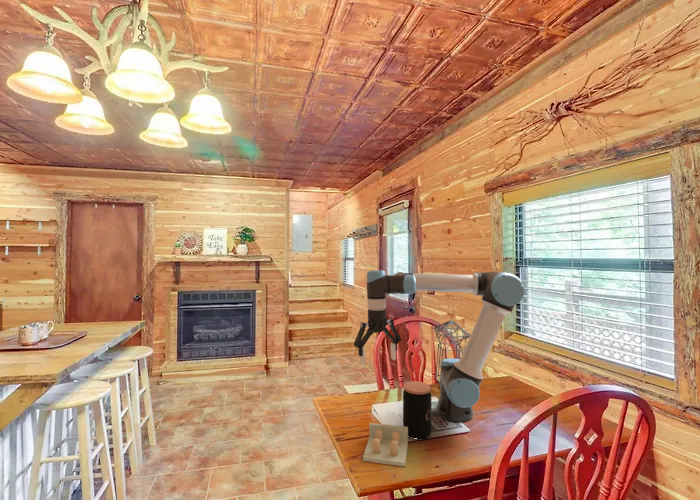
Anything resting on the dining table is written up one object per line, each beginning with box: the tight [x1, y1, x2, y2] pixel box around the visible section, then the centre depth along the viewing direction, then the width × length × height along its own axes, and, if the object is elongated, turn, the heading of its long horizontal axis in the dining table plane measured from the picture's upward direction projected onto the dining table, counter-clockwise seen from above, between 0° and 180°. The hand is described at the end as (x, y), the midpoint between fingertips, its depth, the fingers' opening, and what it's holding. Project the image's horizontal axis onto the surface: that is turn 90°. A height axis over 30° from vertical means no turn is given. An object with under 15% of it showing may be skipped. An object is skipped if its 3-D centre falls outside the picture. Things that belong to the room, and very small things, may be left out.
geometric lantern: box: [431, 319, 471, 389], centre depth 177 cm, size 16×16×35 cm
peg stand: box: [362, 422, 409, 467], centre depth 123 cm, size 14×14×6 cm
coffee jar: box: [402, 380, 432, 440], centre depth 135 cm, size 11×11×18 cm
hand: (378, 361), depth 142 cm, fingers open, 13 cm apart
